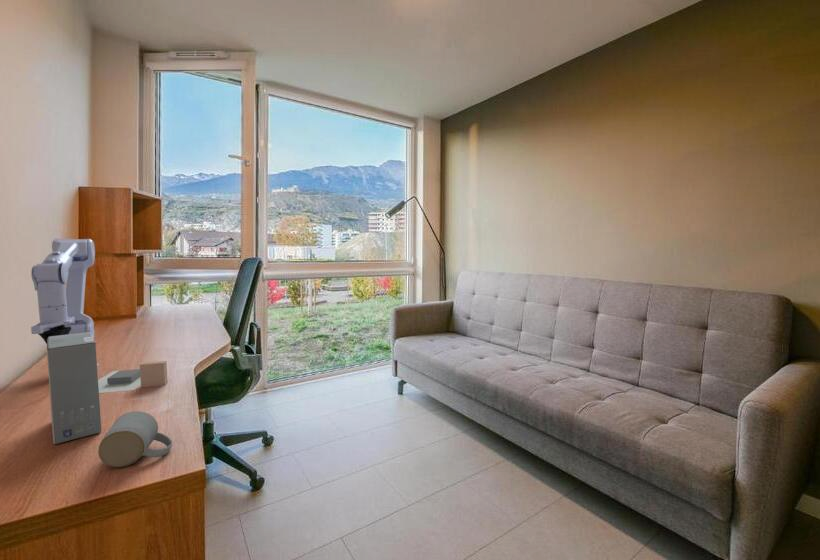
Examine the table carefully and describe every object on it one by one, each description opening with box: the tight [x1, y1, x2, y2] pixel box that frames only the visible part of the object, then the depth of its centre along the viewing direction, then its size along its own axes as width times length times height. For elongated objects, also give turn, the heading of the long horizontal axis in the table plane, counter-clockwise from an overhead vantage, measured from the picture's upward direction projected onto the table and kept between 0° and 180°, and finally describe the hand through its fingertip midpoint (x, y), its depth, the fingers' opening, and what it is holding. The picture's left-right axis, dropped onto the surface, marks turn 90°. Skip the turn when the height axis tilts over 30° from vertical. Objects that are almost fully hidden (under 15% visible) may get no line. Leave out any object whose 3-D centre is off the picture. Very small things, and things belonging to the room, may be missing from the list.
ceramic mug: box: [97, 410, 173, 468], centre depth 70 cm, size 11×8×8 cm
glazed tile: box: [107, 368, 140, 385], centre depth 110 cm, size 2×6×7 cm
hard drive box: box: [46, 332, 102, 445], centre depth 81 cm, size 16×8×20 cm, turn 44°
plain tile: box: [139, 360, 169, 388], centre depth 106 cm, size 2×6×7 cm, turn 105°
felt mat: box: [98, 370, 141, 394], centre depth 110 cm, size 20×14×1 cm
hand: (57, 353), depth 105 cm, fingers closed
